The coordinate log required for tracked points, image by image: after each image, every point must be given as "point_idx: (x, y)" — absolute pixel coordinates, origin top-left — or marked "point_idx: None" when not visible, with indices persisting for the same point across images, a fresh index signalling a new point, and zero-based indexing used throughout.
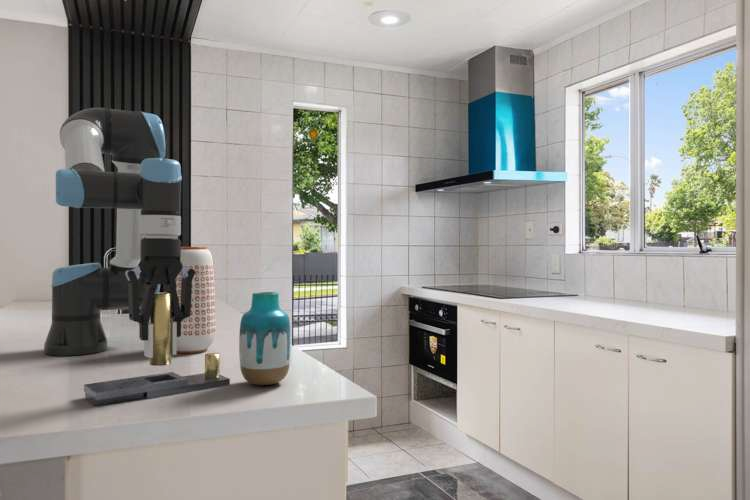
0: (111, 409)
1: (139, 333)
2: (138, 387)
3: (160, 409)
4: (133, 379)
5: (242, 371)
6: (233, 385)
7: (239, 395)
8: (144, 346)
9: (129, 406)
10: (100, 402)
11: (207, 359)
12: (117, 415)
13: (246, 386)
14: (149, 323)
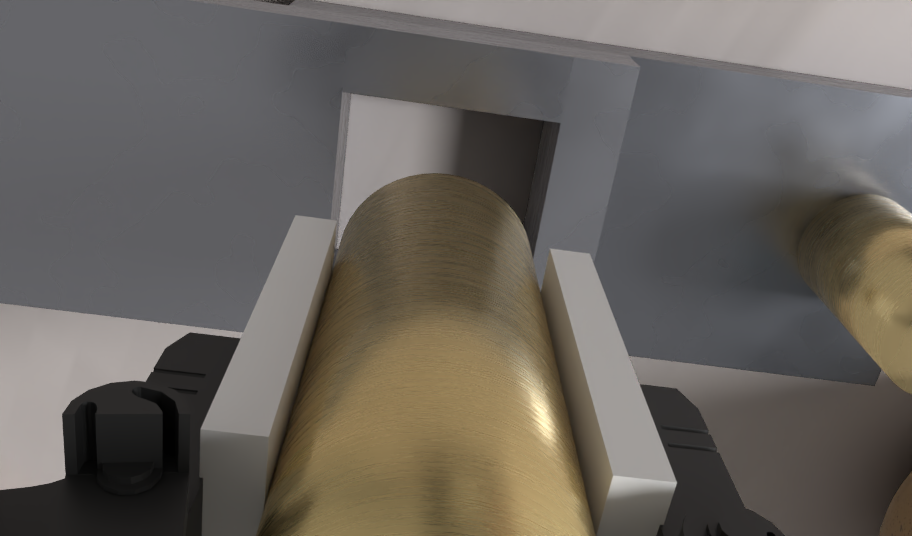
0: (21, 352)
1: (149, 377)
2: (199, 324)
3: None
4: (254, 90)
5: (901, 530)
6: (855, 389)
7: None
8: (276, 265)
9: (128, 367)
10: None
11: (864, 334)
12: (21, 469)
13: (880, 459)
14: (241, 533)
